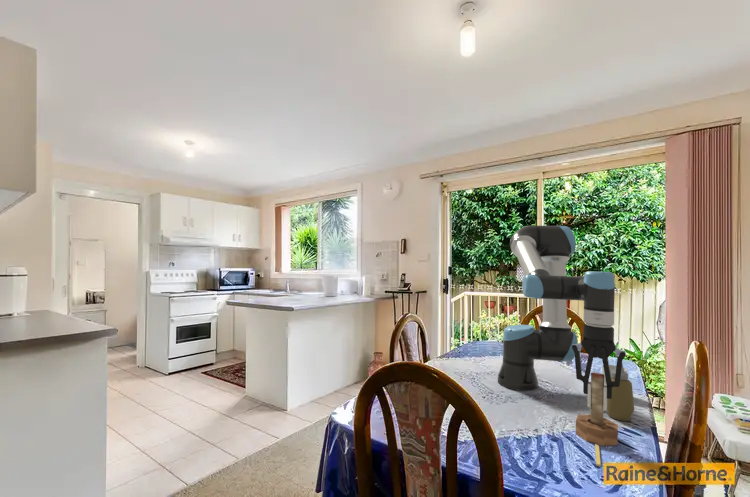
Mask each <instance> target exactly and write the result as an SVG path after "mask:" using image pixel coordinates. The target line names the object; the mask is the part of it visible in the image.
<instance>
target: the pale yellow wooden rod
mask: <svg viewBox="0 0 750 497" xmlns="http://www.w3.org/2000/svg"><path fill="white" fill-rule="evenodd" d="M594 452H595V465H596V467H599V468H600V467H601V453H600V445H599V444H595V443H594Z"/></svg>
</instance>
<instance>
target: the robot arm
mask: <svg viewBox="0 0 750 497" xmlns="http://www.w3.org/2000/svg"><path fill="white" fill-rule="evenodd" d="M509 247H510V251H511V253H512V254H513V256H515V257H516V258H517V260H518V263H519V265H520V267H521V270H522V272H523V275H524V276H523V277H522V281H521V287H522V288H521V289H522V294H523V296H524V297H525V298H531V299H535V300H537V299H538V300H539V299H541V300H542V322H541V323H539V324H538V329H536V328H535V326H534V325H530V324H514V325H513V324H512V325H508V326H507V327H506V326H505V328H504V329H503V336H502V364H501V366H500V370H499V372H498V374H497V383H498V384H499V385H501V386H503V387H504V388H508V389H512V390H515V391H522V392H523V391H525V392H528V391H529V392H530V391H531V392H532V391H536V390H538V389H539V379H538V376H537V374H536V370H535V367H534V366H535V360H537V361H538V360H539V361H549V362H551V361H552V362H559V363H561V362H565V363H566V362H569V363H570V362H572V361H573V360H574V361H575V362H574V365H575V376H576V379H577V380H578V381H582V383H583V390H582V391H583V394H585V395H587V405H586V406H587V408H590V409H591V381H590V378H591V373H592V371H591V370H592V367H593V366H592V365H593V362H594V359H596V358H598V359H599V360H600V359H601V361H602V365H603V366H604V372H605V378H606V384H607V385H604V397H603V411H604V412H607V398H608V399H611V398H612V388H613V387H619V385H620V377H621V368H622V364H623V361H624V359H625V357H626V356H627V355H626V351H625V350H622V349H620V348H617V346H616V344H615V328H614V327H613V326H614V325H615V295H616V294H615V293H616V292H615V290H616V288H615V287H616V282H615V274H614V273H613V272H611V271H591V270H590V271H589V270H588V271H586V272H584V276H581V275H578V276H575V275H573V276H571V275H569V276H568V275H567V269H566V268H567V266H566V265H567V262H568V261H569V260H570V258H571V255H573V254H574V253H575V251H576V237H575V234H574V232H573V230H572V229H571V228H570V227H569V226H565V225H532V224H531V225H526V226H523V227H521V228H518V229H517V230H516V231H515V232H514V233H513V234H512V236H511V237H510V241H509ZM567 301H582V302H583V323H584V324H583V328H582V329H583V331H582V333H583V334H582V336H583V337H582V340H581V342H579V341H578V336H577V333H576V332H574V331H572V326H571V325H570V324H568V321H567V320H568V318H567V317H568V315H567V314H568V313H567ZM582 348H583V350H584V351H585V352H586V353H587V355H588V357H587V361H586V367H585V370H584V375H583V372H582V359H581V351H582ZM613 353H615V357H616V358H617V359H616V365H615V366H616V374H615V381H612V380H611V374H610V368H609V365H610V363H609V357H610V356H611V355H612V354H613Z"/></svg>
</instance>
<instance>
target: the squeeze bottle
mask: <svg viewBox="0 0 750 497" xmlns="http://www.w3.org/2000/svg"><path fill="white" fill-rule="evenodd" d="M624 368H625V367H624V364H623V363H622V368H621V377H620V385H619V387H613V388H612V398H611V399H608V398H607V411H606V412H607V415H608V416H609V417H610V418H613V419H614V420H618V421H623V422H624V421H625V422H626V421H631V418H632V415H633V414H634V411H635V400H634V393H633V382H631V381H630V380H629V374H628V372H627V373H625V372H624ZM615 374H616V369H615V371H611V376H612V377H611V380H612V381H615Z"/></svg>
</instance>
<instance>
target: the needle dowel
mask: <svg viewBox="0 0 750 497" xmlns="http://www.w3.org/2000/svg"><path fill="white" fill-rule="evenodd" d="M590 382H591V408H590V415H591V416H590V423H591V424H593V425H597V426H604V418H605V416H604V412H605V411H603V397H604V374H602V372H601V373H600V372H590Z"/></svg>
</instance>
